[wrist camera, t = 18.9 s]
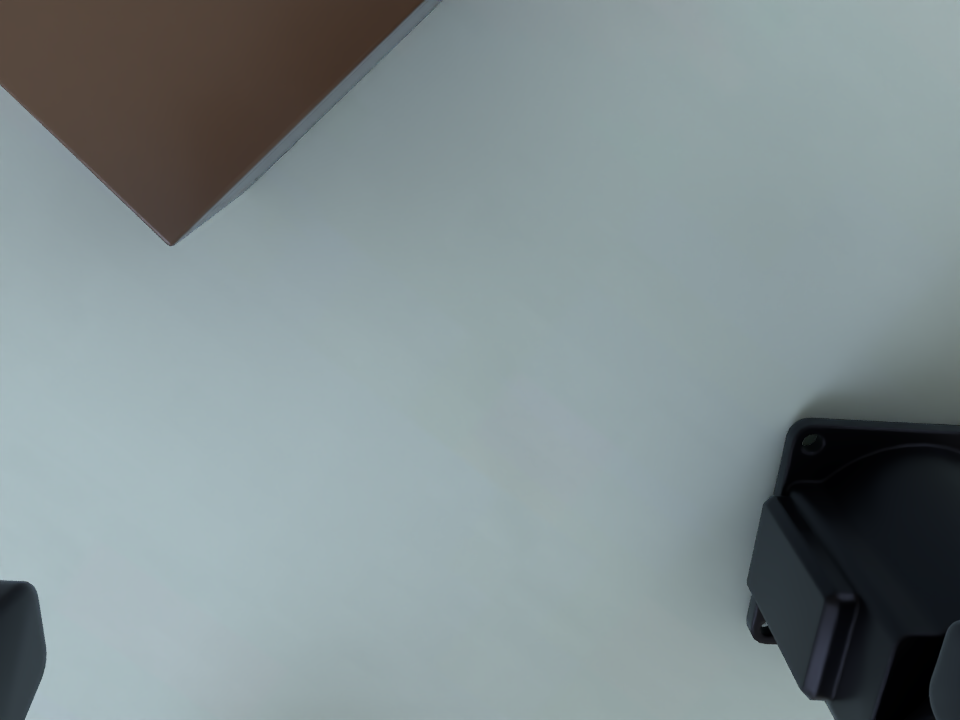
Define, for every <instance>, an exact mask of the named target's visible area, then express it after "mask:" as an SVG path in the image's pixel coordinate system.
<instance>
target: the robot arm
mask: <svg viewBox="0 0 960 720" xmlns="http://www.w3.org/2000/svg"><path fill="white" fill-rule="evenodd" d="M812 434H817V437H816V439H815V441H814V442H813V443H811V444H810V445H805V446H804V445H802V442H803V441H804V439H805V438H806V437H807V436H809V435H812ZM747 585H748V587H749V589H750V591H751V593H752V596H751V600H750V605H749V609H748V614H747V626H748V628H749V630H750V632H751V634H752V636H753V638H754V639H755V640H756V641H758V642H759V643H764V644H778V646H779V648H780V650H781V652H782V654H783V656H784V658H785V660H786V662H787V664H788V666H789V668H790V670H791V672H792V674H793V676H794V678H795V680H796V682H797V684H798V686H799V688H800V689H801V691H802V692H803V693H804V694H805V695H806V696H807V697H808V698H809V699H810V700H822V701H825V702H826V704H827V706H828V708H829V710H830V712H831V713H832V715H833V717H834V719H835V720H960V425H942V424H922V423H903V422H883V421H863V420H844V419H824V418H805V419H801V420H799V421H797V422H795V423H794V424H793V425H792V426H791V427H790V428H789V431H788V433H787V435H786V440H785V444H784V449H783V454H782V458H781V463H780V467H779V472H778V477H777V481H776V486H775V490H774V495H772V496H771V497H770V498H769V499H768V500H767V501H766V502H765V503H764V504H763V508H762V513H761V518H760V522H759V527H758V532H757V536H756V541H755V546H754V550H753V555H752V560H751V564H750V569H749V574H748V578H747ZM765 622H766V623H767V625H768V626H765V627H762V624H764V623H765ZM45 664H46V644H45V637H44V631H43V624H42V618H41V611H40V605H39V599H38V594H37V591H36V589H35V587H34V586H33V585H32V584H30V583H28V582H25V581H4V580H0V720H25V717H26V715H27V713H28V710H29V708H30V705H31V703H32V701H33V698H34V696H35V693H36V691H37V689H38V686H39V684H40V681H41V679H42V676H43V673H44V669H45Z"/></svg>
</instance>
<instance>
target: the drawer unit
mask: <svg viewBox="0 0 960 720" xmlns="http://www.w3.org/2000/svg"><path fill="white" fill-rule="evenodd" d="M441 1H442V0H0V85H1V86H2V87H3V88H4V89H5V90H6V91H7V92H9V93H10V94H11V95H12V96H13V97H14V98H15V99H16V100H17V101H18V102H19V103H20V104H21V105H22V106H23V107H24V108H25V109H26V110H27V111H28V112H29V113H30V114H31V115H33V116H34V117H35V118H36V119H37V120H38V121H39V122H40V123H41V124H42V125H43V126H44V127H45V128H46V129H47V130H48V131H49V132H50V133H51V134H52V135H53V136H54V137H56V138H57V139H58V140H59V141H60V142H61V143H62V144H63V145H64V146H65V147H66V148H67V149H68V150H69V151H70V152H71V153H72V154H73V155H74V156H75V157H76V158H77V159H79V160H80V161H81V162H82V163H83V164H84V165H85V166H86V167H87V168H88V169H89V170H90V171H91V172H92V173H93V174H94V175H95V176H96V177H97V178H98V179H99V180H100V181H102V182H103V183H104V184H105V185H106V186H107V187H108V188H109V189H110V190H111V191H112V192H113V193H114V194H115V195H116V196H117V197H118V198H119V199H120V200H121V201H122V202H123V203H124V204H126V205H127V206H128V207H129V208H130V209H131V210H132V211H133V212H134V213H135V214H136V215H137V216H138V217H139V218H140V219H141V220H142V221H143V222H144V223H145V224H146V225H147V226H149V227H150V228H151V229H152V230H153V231H154V232H155V233H156V234H157V235H158V236H159V237H160V238H161V239H162V240H163V241H164V242H165V243H166V244H167V245H169V246H173V245H175V244H177V243H178V242H179V241H181V240H182V239H183V238H185V237H186V236H187V235H189V234H190V233H191V232H193V231H194V230H195V229H197V228H198V227H199V226H201V225H202V224H203V223H204V222H206V221H207V220H208V219H210V218H211V217H212V216H214V215H215V214H216V213H218V212H219V211H220V210H222V209H223V208H224V207H226V206H227V205H228V204H229V203H231V202H232V201H233V200H235V199H236V198H238V197H239V196H240V195H242V194H243V193H244V192H245V191H246V190H247V189H248V188H249V187H250V186H251V185H252V184H253V183H254V182H256V181H257V180H258V179H259V178H260V177H261V176H262V175H263V174H264V173H265V172H266V171H267V170H268V169H269V168H270V167H271V166H272V165H273V164H274V163H275V162H276V161H277V160H278V159H279V158H280V157H281V156H282V155H283V154H284V153H285V152H286V151H288V150H289V149H290V148H291V147H292V146H293V145H294V144H295V143H296V142H297V141H298V140H299V139H300V138H301V137H302V136H303V135H304V134H305V133H306V132H307V131H308V130H309V129H310V128H311V127H312V126H313V125H314V124H315V123H316V122H317V121H319V120H320V119H321V118H322V117H323V116H324V115H325V114H326V113H327V112H328V111H329V110H330V109H331V108H332V107H333V106H334V105H335V104H336V103H337V102H338V101H339V100H340V99H341V98H342V97H343V96H344V95H345V94H346V93H347V92H348V91H349V90H351V89H352V88H353V87H354V86H355V85H356V84H357V83H358V82H359V81H360V80H361V79H362V78H363V77H364V76H365V75H366V74H367V73H368V72H369V71H370V70H371V69H372V68H373V67H374V66H375V65H376V64H377V63H378V62H379V61H380V60H382V59H383V58H384V57H385V56H386V55H387V54H388V53H389V52H390V51H391V50H392V49H393V48H394V47H395V46H396V45H397V44H398V43H399V42H400V41H401V40H402V39H403V38H404V37H405V36H406V35H407V34H408V33H409V32H410V31H411V30H412V29H414V28H415V27H416V26H417V25H418V24H419V23H420V22H421V21H422V20H423V19H424V18H425V17H426V16H427V15H428V14H429V13H430V12H431V11H432V10H433V9H434V8H435V7H436V6H437V5H438V4H439V3H440V2H441Z"/></svg>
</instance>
